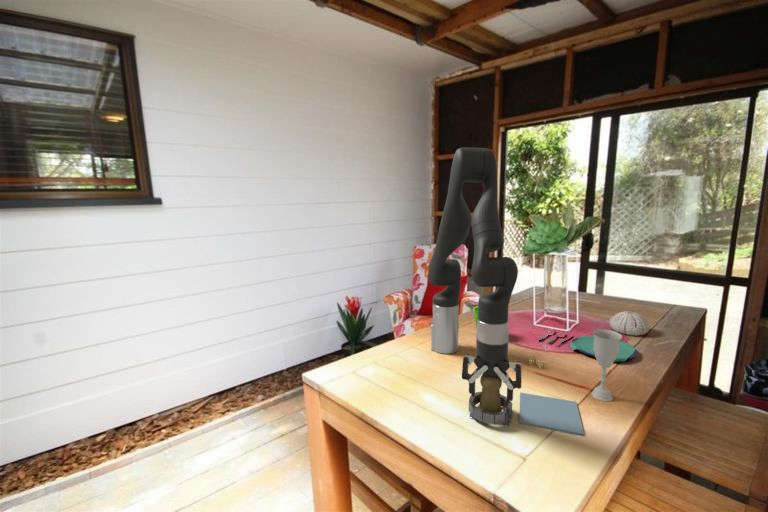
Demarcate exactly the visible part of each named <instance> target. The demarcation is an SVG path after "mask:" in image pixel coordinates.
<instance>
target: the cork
mask: <svg viewBox="0 0 768 512" xmlns="http://www.w3.org/2000/svg"><path fill="white" fill-rule="evenodd" d="M479 381H480V382H479V383H480V385H481V387H482V388H481V392H482V393H481V398H480V403H478V404H479V405H478V408H480V409H482V410H484V411H488V412H493V413H495V412H503V410H502V409H503V407H502V406H501V399H500V394H501V392H500V391H501V390H500V389H502V385H503V381H502V380H501V378H500V377H498V378H493V377H485V376H484V375H483V374H482V375H481V376H480V380H479Z"/></svg>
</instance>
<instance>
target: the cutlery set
mask: <svg viewBox="0 0 768 512" xmlns="http://www.w3.org/2000/svg"><path fill="white" fill-rule="evenodd" d="M548 334H550V332H547V335H548ZM543 338H545V336H543V337H540V338H538V340H542V339H543ZM554 338H555V337H554ZM554 338H552V339H549V340H548V341H546V343H547V342H548V343H550V342H551V341H552V342H553V340H554ZM565 339H566V338H565ZM565 339H564V338H562V340H561V341H560V342H564V341H566V340H565ZM538 340H537V341H538ZM542 341H543V340H542ZM554 341H555V340H554ZM552 342H551V343H552ZM566 342H567V341H566ZM548 343H547V344H548ZM551 343H550V344H551ZM593 345H594V335H582V336H579V337H576V338H572V340H571V341H570V343H569V347H570V349H571V348H572V349H573V350H576V351H579V352H580V353H583V354H585V355H587V356H591V357H594V358H596V357H595V354H594V350H593ZM572 349H571V350H572ZM573 350H572V351H573ZM637 353H638V351H637V348H636V347H634V346H633V345H632V344H629V343H627V342H625V341H620V342H619V353H618V356H617V358H616V359H615V361H614V362H616V363H617V362H626V361H627V360H631V359H633V358H635V357H637Z"/></svg>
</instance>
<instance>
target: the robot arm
mask: <svg viewBox="0 0 768 512" xmlns="http://www.w3.org/2000/svg"><path fill="white" fill-rule="evenodd" d="M497 168H498V167H497V158H496V155H495V153H494V151H493V149H490V148H486V147H485V148H484V147H459V148H458V149H456V151H455V152H454V155H453V159H452V163H451V168H450V175H449V182H448V188H447V195H446V199H445V202H444V203H445V204H444V208H443V212H442V216H441V219H440V224H439V229H438V234H437V237H436V243H435V246H434V247H435V248H434V250H433V253H432V256H431V259H430V262H429V265H428V271H427V276H428V277H427V278H428V279H427V280H428V282H429V283H430V284H431V285H432V286H435V287H442V286H443V287H444V286H445V288H444V289H442V290H441V291H439V292H436V293H435V294H434V295H433V296H432V324H431V327H430V328H431V333H430V334H431V340H430V341H431V343H430V344H431V345H430V346H431V347H430V348H431V349H430V350H432V351H435V352H436V353H440V354H445V355H446V354H448V355H449V354H454V353H456V352H458V350H459V330H460V329H459V328H460V327H459V319H460V318H459V312H460V310H459V309H460V307H459V303H460V296H461V281H462V280H461V277H462V270H461V264H460V262H459V260H457V259H455V258H450V259H448V258H449V257H450V256H451V254H453V253H454V252H455V251H456V250H457V249H459V248H460V246H462V245H463V244H464V243H465V241H466V239H467V238H468V236H469V232H470V229H471V232H472V238H473V258H472V264H471V269H470V270H471V271H470V275H471V280H472V281H473V282H474V284H475V285H476V286H477V287H480V288H489V287H490V288H491V287H492V288H495V287H496V289H495V290H494V291H493V292H490V293H487V294H483V295H481V296H480V297H479V298H478V303H477V306H478V323H477V328H476V341H475V342H476V344H475V345H476V346H475V347H476V348H475V349H476V350H475V353H476V354H475V356H471V355H469V354H468V353H465V354H464V356H463V358H462V369H461V379H462V380H463V381H464V380H466V381H467V382H468V393H469V394H470V396H475V393H476V380H477V379H479V378H481V376H482V375H484V376H485V377H493V378H498V377H500V378H501V380H502V383H504V384H505V385H506V386H507V387H506V397H507V403H510V401H511V402H512V401H513V399H514V389H521V388H522V383H523V382H522V362H521V361H519V360H516V362H512V361H509V337H510V335H509V332H510V328H509V305H510V301H511V298H512V294H513V291H514V288H515V285H516V283H517V279H518V275H519V269H518V265H517V263H516V261H515V260H514V259H513V258H512V257H510V256H497V257H495V256H493V257H488V256H487V254H490V253H492V252H493V253H494V252H497V251H499V250H500V249H502V248H503V246H504V235H503V230H502V224H501V219H500V213H499V203H498V202H499V199H498V197H499V196H498V192H499V191H498V169H497ZM464 183H482V187H483V190H482V194H481V197H480V199H479V200H478V203H477V204H476V206H475V208H474V210H473V212H472V213H471V211H470V209H469V206H468V205H467V202H466V201H465V199H464V195H463V185H464ZM472 363H474V365H475V366H476V368H475V369H474V371H473V372H472V373H469V366H471V365H472ZM510 368H511V370H512V372H514V373H515V380H512V378H511V377H510V374H509V373H508V370H509V369H510Z"/></svg>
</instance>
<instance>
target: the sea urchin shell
mask: <svg viewBox="0 0 768 512" xmlns="http://www.w3.org/2000/svg"><path fill="white" fill-rule="evenodd" d="M609 325H610V328H611V329H613V331H615V332H617V333H620V334H623V335H627V336H636V337H638V336H643V335H645V334H648V332H649V331H650V325H649V323H648V320H646V318H645V317H644V316H642V314H640V313H638V312H634V311H630V310H629V311H627V310H625V311H620V312H618V313H616V314H615V315H613V316H611V317H610V318H609Z"/></svg>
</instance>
